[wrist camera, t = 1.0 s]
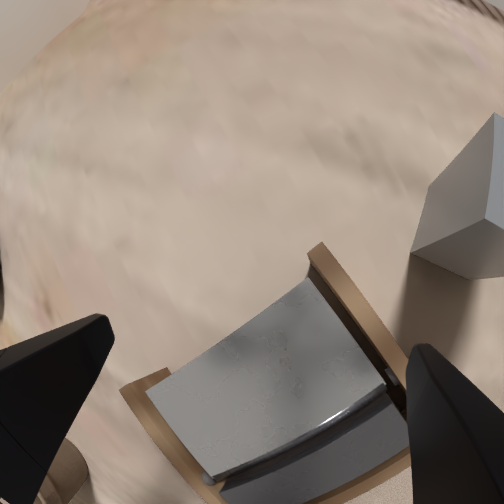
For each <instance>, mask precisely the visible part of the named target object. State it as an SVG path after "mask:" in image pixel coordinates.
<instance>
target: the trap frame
mask: <svg viewBox="0 0 504 504" xmlns="http://www.w3.org/2000/svg"><path fill="white" fill-rule="evenodd" d="M307 255H308V257H309V260H310V263H311V264H312V265H313V267H314V268H315V269H316V271H317V272H318V273H319V275H320V276H321V277H322V279H323V280H324V281H325V283H326V284H327V285H328V287H329V288H330V289H331V291H332V292H333V293H334V295H335V296H336V297H337V299H338V300H339V301H340V303H341V304H342V305H343V307H344V308H345V309H346V311H347V312H348V313H349V315H350V316H351V318H352V319H353V320H354V322H355V323H356V324H357V326H358V327H359V329H360V330H361V331H362V333H363V334H364V336H365V337H366V338H367V340H368V341H369V342H370V344H371V345H372V347H373V348H374V350H375V351H376V352H377V354H378V355H379V357H380V358H381V359H382V361H383V362H384V364H385V365H386V367H387V368H386V369H385V370H384V371H385V372H386V374H387V375H388V377H389V378H390V379H391V381H392V382H393V384H394V385H395V386H396V385H398V384H399V385H400V387H401V388H402V390H403V391H404V393H405V394H406V376H405V373H406V367H407V364H408V361H409V360H408V359H407V357H406V356H405V354H404V353H403V351H402V350H401V348H400V347H399V345H398V344H397V343H396V341H395V340H394V338H393V337H392V335H391V334H390V332H389V331H388V330H387V328H386V327H385V325H384V324H383V322H382V321H381V320H380V318H379V317H378V315H377V314H376V313H375V311H374V310H373V308H372V307H371V306H370V304H369V303H368V301H367V300H366V299H365V297H364V296H363V295H362V293H361V292H360V291H359V289H358V288H357V287H356V285H355V284H354V283H353V281H352V280H351V279H350V277H349V276H348V275H347V273H346V272H345V271H344V269H343V268H342V267H341V265H340V264H339V263H338V261H337V260H336V259H335V258H334V256H333V255H332V254H331V252H330V251H329V250H328V249H327V247H326V246H325V245H324V243H323V242H321V243H319V244H318V245H317V246H316V247H314V248H313V249H312V250H310V251H309V252H308V253H307ZM170 375H171V373H170V371H169V370H168V368H167V367H166V368H164V369H162V370H159V371H157V372H155V373H153V374H150V375H148V376H146V377H143V378H141V379H139V380H136V381H134V382H132V383H129V384H127V385H125V386H124V387H123V388H121V389H120V390H119V391H120V393H121V395H122V396H123V398H124V399H125V401H126V402H127V404H128V405H129V407H130V408H131V410H132V411H133V413H134V414H135V416H136V417H137V419H138V420H139V422H140V423H141V424H142V426H143V427H144V429H145V430H146V431H147V433H148V434H149V435H150V437H151V438H152V440H153V441H154V442H155V443H156V445H157V446H158V447H159V449H160V450H161V451H162V452H163V454H164V455H165V456H166V457H167V459H168V460H169V461H170V462H171V464H172V465H173V466H174V467H175V468H176V470H177V471H178V472H179V473H180V474H181V475H182V476H183V478H184V479H185V480H186V481H187V482H188V483H189V484H190V485H191V487H192V488H193V489H194V490H195V491H196V492H197V493H198V494H199V495H200V496H201V497H202V498H203V499H204V500H205V501H206V502H207V503H208V504H229V503H228V502H227V501H226V500H225V499H224V498H223V497H222V496H221V495H220V494H219V492H220V490H221V488H222V487H223V485H224V483H225V482H226V480H227V478H228V477H227V478H225V479H222V480H219V481H216V480H215V479H214V478H212V477H211V476H210V475H209V474H208V473H207V472H206V471H205V469H204V468H203V467H202V466H201V465H200V464H199V462H198V461H197V460H196V459H195V458H194V457H193V455H192V454H191V453H190V452H189V450H188V449H187V448H186V447H185V445H184V444H183V443H182V442H181V440H180V439H179V438H178V437H177V435H176V434H175V433H174V431H173V430H172V429H171V427H170V426H169V425H168V423H167V422H166V421H165V419H164V418H163V417H162V415H161V414H160V412H159V411H158V410H157V408H156V407H155V405H154V404H153V402H152V401H151V399H150V398H149V396H148V395H147V393H146V392H145V391H147V390H148V389H150V388H151V387H153V386H154V385H156V384H158V383H159V382H161V381H162V380H164V379H165V378H167V377H168V376H170ZM400 413H401V414H402V416H403V417H404V418H405V420H406V421H407V408H406V409H404V410H403V411H402V412H400ZM409 466H411V456H410V445H409V446H408V447H406V448H405V449H403V450H402V451H400V452H399V453H397V454H396V455H394V456H392V457H391V458H389V459H388V460H386V461H385V462H383V463H381V464H380V465H378V466H376V467H375V468H373V469H371V470H369V471H368V472H366V473H364V474H362V475H361V476H359V477H357V478H355V479H353V480H351V481H349V482H347V483H345V484H343V485H341V486H339V487H337V488H335V489H333V490H331V491H329V492H327V493H325V494H323V495H320V496H318V497H316V498H314V499H311V500H309V501H307V502H304V503H302V504H343V503H345V502H347V501H349V500H351V499H353V498H355V497H357V496H359V495H361V494H363V493H365V492H367V491H369V490H371V489H372V488H374V487H376V486H378V485H380V484H381V483H383V482H385V481H387V480H388V479H390V478H392V477H393V476H395V475H397V474H398V473H400V472H401V471H403V470H405V469H406V468H408V467H409Z"/></svg>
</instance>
